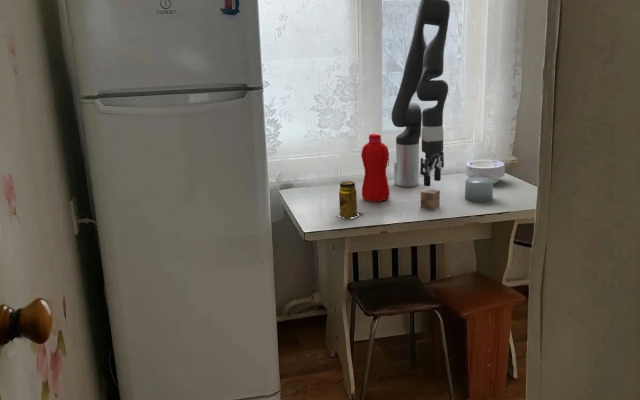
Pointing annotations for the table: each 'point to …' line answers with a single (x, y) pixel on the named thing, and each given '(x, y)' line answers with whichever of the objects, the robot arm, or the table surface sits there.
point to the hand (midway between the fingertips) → (432, 183)
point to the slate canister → (478, 190)
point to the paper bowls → (486, 169)
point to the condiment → (348, 200)
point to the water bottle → (375, 170)
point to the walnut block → (430, 199)
